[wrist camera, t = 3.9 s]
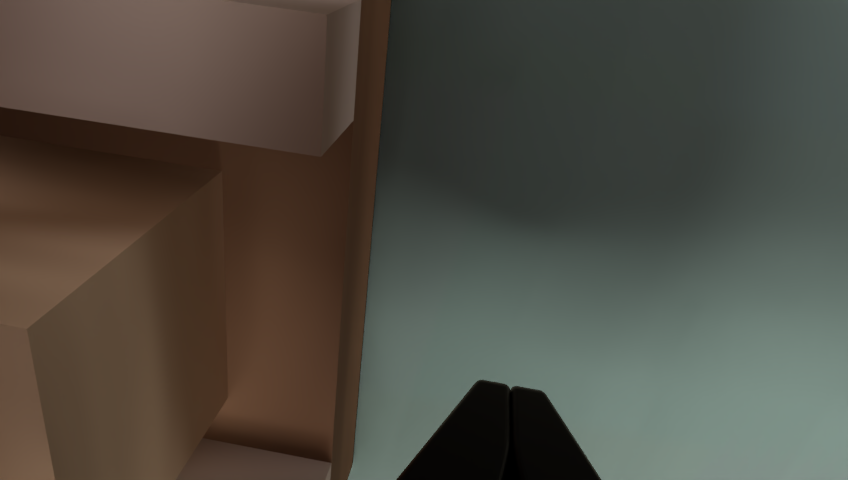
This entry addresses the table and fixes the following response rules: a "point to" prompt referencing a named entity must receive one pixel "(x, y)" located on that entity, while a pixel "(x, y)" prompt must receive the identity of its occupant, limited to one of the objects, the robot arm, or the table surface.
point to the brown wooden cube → (107, 313)
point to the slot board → (238, 183)
